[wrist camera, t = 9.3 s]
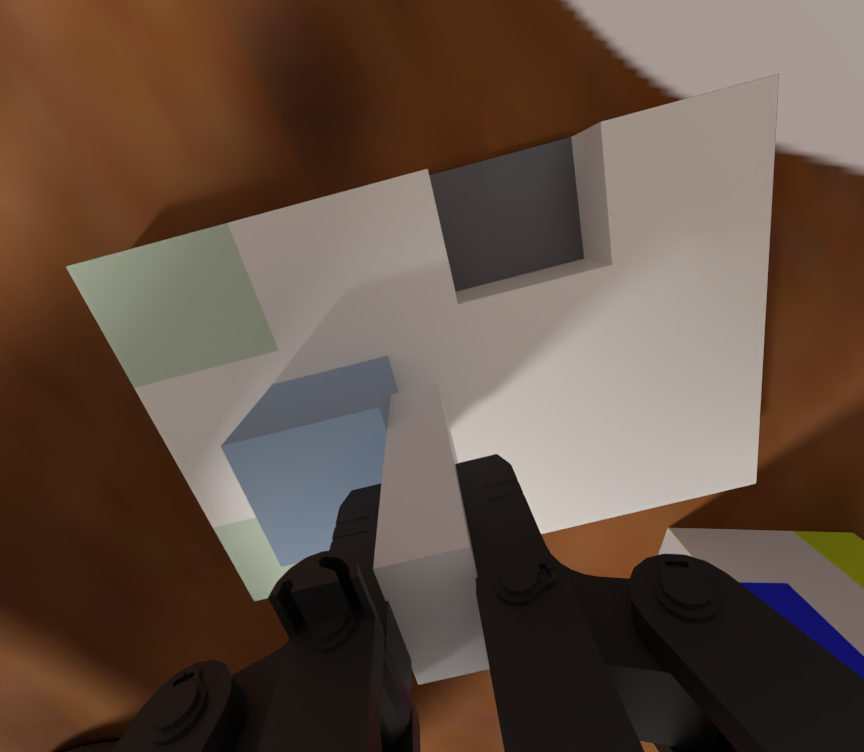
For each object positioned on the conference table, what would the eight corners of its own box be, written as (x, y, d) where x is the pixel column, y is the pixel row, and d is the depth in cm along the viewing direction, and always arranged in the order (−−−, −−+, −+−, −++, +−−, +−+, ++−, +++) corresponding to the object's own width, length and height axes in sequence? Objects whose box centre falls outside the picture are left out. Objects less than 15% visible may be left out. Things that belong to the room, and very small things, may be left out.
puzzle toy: (667, 526, 20) (889, 789, 11) (851, 531, 21) (1206, 781, 12) (618, 664, 24) (754, 952, 14) (777, 664, 24) (1005, 937, 15)
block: (312, 481, 15) (280, 566, 11) (272, 384, 14) (220, 446, 10) (417, 456, 15) (419, 534, 11) (387, 355, 13) (379, 407, 10)
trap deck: (272, 555, 19) (254, 601, 17) (121, 259, 14) (65, 266, 12) (712, 450, 19) (756, 483, 16) (715, 98, 14) (779, 73, 11)
